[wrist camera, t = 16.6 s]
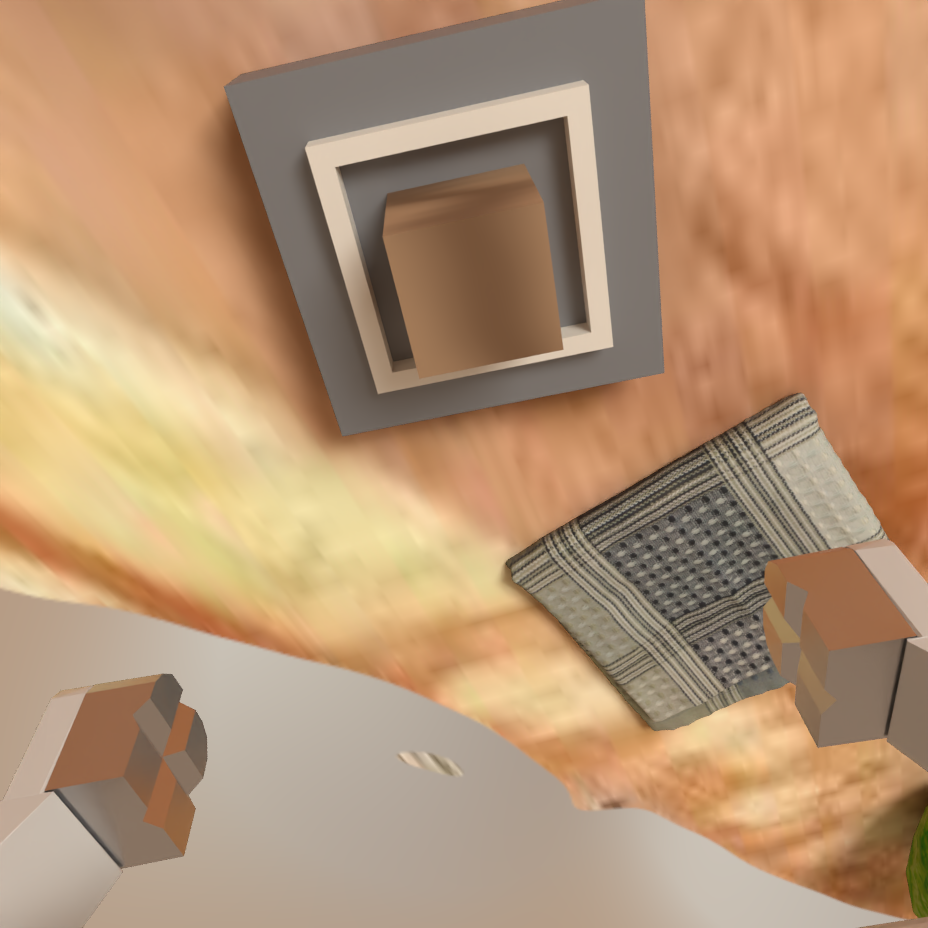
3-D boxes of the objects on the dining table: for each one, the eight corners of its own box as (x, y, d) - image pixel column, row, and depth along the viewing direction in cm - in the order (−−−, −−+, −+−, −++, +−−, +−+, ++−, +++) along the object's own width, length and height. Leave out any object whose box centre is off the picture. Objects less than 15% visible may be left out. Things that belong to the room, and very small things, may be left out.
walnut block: (418, 320, 30) (419, 378, 26) (387, 193, 28) (382, 236, 23) (543, 294, 30) (563, 349, 26) (524, 163, 27) (543, 202, 23)
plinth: (347, 402, 36) (340, 449, 32) (240, 74, 28) (217, 91, 25) (646, 342, 35) (670, 383, 31) (622, -14, 27) (652, -9, 24)
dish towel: (493, 553, 42) (498, 594, 39) (797, 376, 37) (826, 409, 34) (652, 720, 51) (665, 763, 48) (915, 596, 46) (946, 636, 43)
